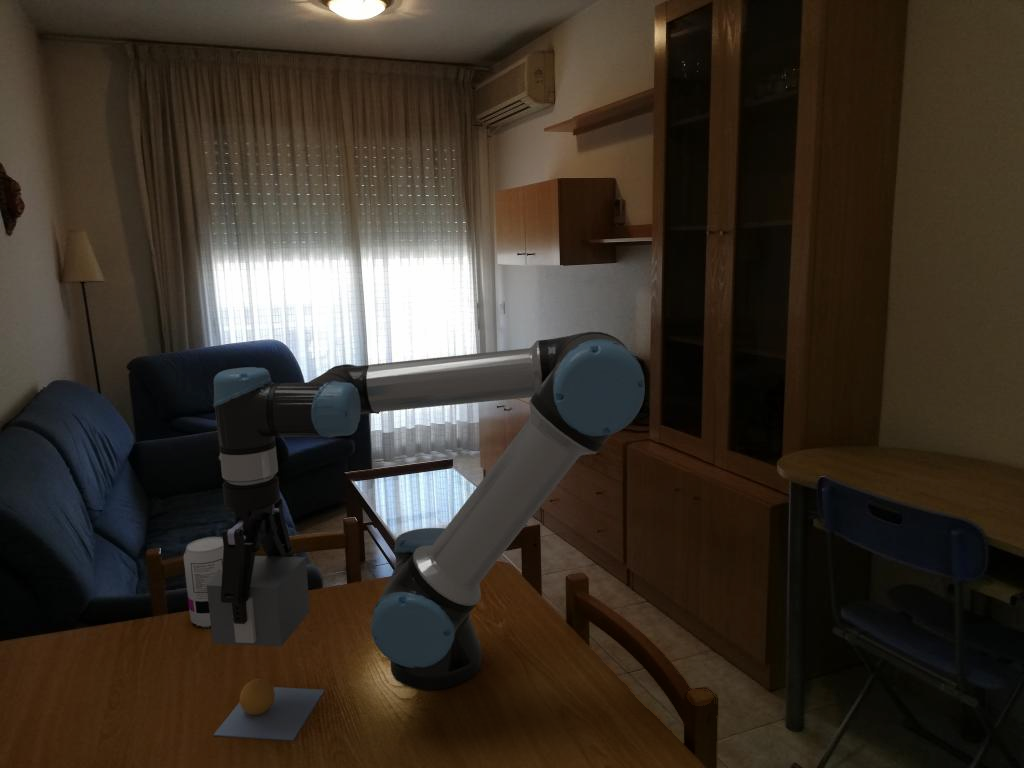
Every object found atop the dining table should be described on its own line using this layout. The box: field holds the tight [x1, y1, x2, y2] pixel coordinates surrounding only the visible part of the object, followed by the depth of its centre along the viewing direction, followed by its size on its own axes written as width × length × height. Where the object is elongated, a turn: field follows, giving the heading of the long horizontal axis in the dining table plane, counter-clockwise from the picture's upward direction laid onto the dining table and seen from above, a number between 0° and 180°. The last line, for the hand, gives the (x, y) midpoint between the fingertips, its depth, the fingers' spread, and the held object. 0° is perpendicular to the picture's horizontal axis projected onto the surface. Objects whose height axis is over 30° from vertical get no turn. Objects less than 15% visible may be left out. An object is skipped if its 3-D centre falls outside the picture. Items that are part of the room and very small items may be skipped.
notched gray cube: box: [207, 555, 311, 648], centre depth 107 cm, size 10×10×9 cm
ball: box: [239, 678, 275, 715], centre depth 110 cm, size 5×5×5 cm
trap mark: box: [213, 686, 326, 742], centre depth 110 cm, size 12×12×1 cm
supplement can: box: [183, 536, 224, 628], centre depth 138 cm, size 8×8×15 cm
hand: (263, 621), depth 108 cm, fingers closed on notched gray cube, 10 cm apart
